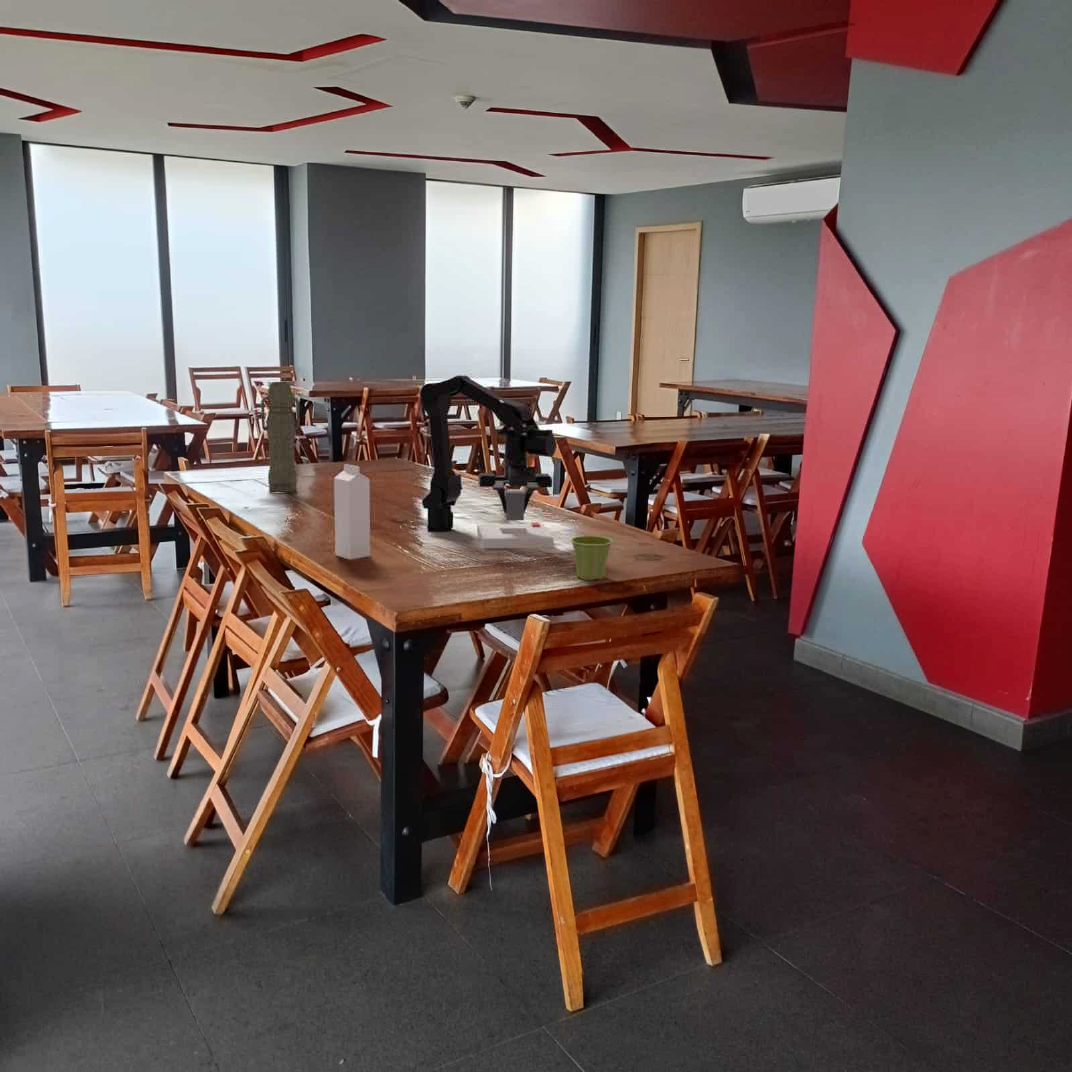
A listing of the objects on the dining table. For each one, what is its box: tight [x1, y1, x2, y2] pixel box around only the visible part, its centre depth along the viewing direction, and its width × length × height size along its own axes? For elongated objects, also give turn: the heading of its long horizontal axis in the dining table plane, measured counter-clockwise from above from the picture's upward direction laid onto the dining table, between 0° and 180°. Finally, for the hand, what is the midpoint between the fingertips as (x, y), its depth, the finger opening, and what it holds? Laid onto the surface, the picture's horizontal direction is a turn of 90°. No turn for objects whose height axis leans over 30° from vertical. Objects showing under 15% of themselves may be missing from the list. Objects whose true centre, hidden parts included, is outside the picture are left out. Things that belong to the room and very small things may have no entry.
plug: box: [504, 488, 525, 521], centre depth 257 cm, size 4×4×7 cm
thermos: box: [260, 381, 301, 493], centre depth 318 cm, size 9×12×35 cm
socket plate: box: [476, 522, 554, 549], centre depth 259 cm, size 18×18×3 cm
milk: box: [333, 463, 371, 560], centre depth 236 cm, size 6×6×22 cm
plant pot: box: [570, 535, 613, 581], centre depth 224 cm, size 9×9×9 cm
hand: (514, 512), depth 258 cm, fingers closed on plug, 4 cm apart
